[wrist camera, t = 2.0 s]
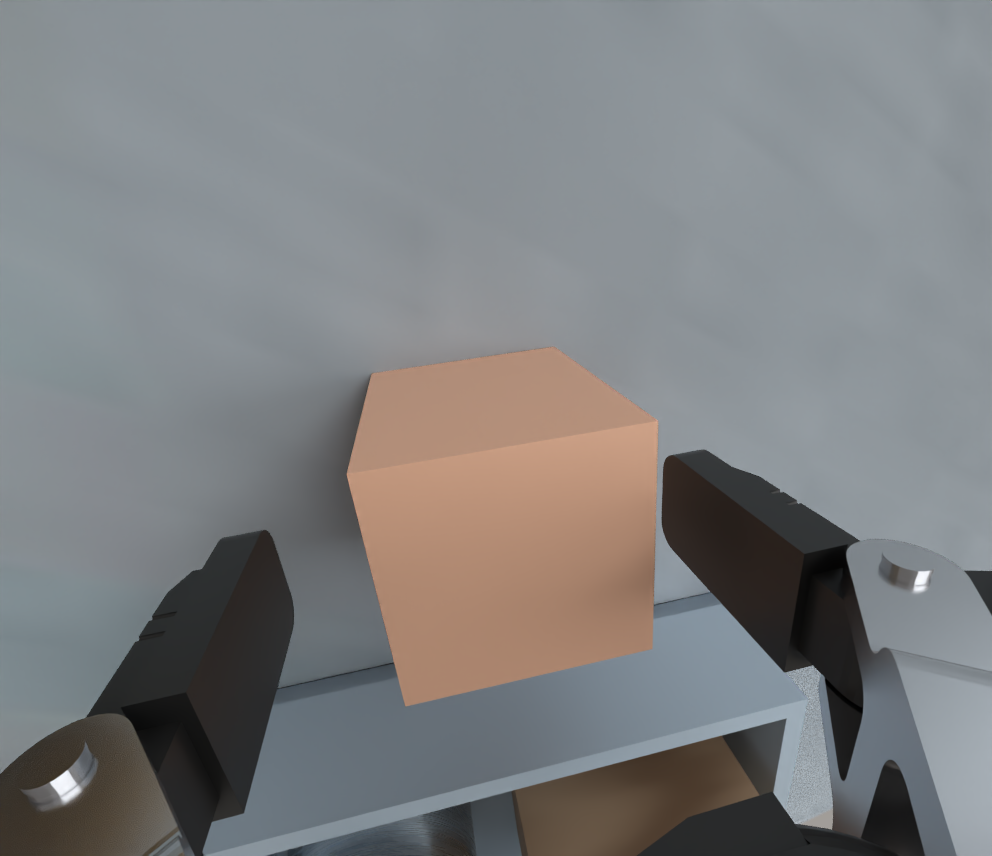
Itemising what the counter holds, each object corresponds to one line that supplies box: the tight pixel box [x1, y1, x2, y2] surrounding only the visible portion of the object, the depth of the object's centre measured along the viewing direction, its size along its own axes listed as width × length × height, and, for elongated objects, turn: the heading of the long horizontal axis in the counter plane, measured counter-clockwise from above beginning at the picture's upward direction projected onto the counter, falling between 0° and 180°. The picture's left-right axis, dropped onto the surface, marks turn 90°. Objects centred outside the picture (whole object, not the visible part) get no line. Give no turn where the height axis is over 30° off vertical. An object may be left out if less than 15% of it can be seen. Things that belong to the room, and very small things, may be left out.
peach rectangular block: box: [347, 347, 658, 707], centre depth 11 cm, size 5×5×6 cm
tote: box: [203, 593, 808, 856], centre depth 17 cm, size 18×13×4 cm
